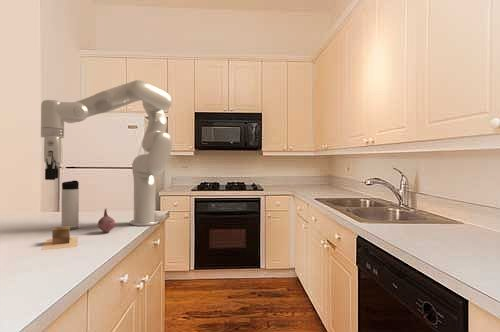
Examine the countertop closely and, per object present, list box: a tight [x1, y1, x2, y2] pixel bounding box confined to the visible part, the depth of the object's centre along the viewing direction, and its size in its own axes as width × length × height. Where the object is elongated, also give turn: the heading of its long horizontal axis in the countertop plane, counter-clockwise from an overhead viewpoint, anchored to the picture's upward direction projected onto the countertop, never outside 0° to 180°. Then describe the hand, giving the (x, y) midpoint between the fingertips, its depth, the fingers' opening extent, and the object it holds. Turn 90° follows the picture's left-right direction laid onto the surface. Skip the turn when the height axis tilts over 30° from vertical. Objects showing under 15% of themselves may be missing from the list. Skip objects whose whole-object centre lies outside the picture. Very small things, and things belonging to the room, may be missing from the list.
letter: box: [41, 236, 79, 251], centre depth 116 cm, size 10×15×1 cm, turn 26°
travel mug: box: [61, 180, 80, 231], centre depth 141 cm, size 6×7×20 cm
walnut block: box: [51, 226, 71, 245], centre depth 117 cm, size 5×5×5 cm
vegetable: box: [97, 207, 116, 234], centre depth 133 cm, size 6×6×10 cm
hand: (51, 179), depth 127 cm, fingers open, 9 cm apart
